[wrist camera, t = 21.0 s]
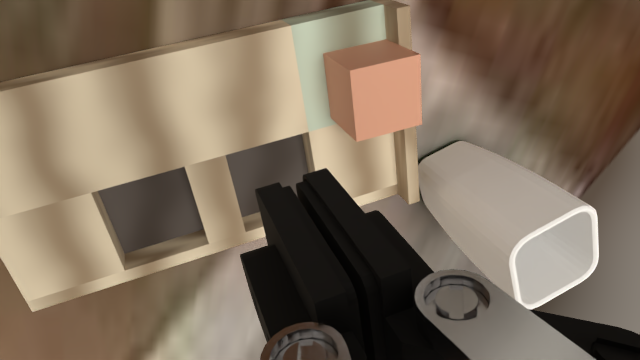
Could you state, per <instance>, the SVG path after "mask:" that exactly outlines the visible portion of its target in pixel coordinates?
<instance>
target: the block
mask: <svg viewBox="0 0 640 360" xmlns="http://www.w3.org/2000/svg"><path fill="white" fill-rule="evenodd" d="M323 57H324V66H325V74H326V82H327V91H328V99H329V107H330V116H331V119H332V120H334V121H335V122H336V123H337V124H338V125H339V126H340V127H341V128H342V129H343V130H344V131H345V132H346V133H347V134H349V135H350V136H351V137H352V138H353V139H354V140H355V141H356V142H359V141H362V140H366V139H370V138H374V137H377V136H381V135H385V134H388V133H392V132H396V131H399V130H403V129H407V128H411V127H414V126H418V125H422V104H421V62H420V54H419V53H416V52H414V51H412V50H410V49H407V48H405V47H403V46H400V45H398V44H396V43H394V42H391V41H389V40H387V39H385V40H381V41H376V42H372V43H367V44H363V45H358V46H354V47H349V48H345V49H340V50H335V51H331V52H326V53H323Z"/></svg>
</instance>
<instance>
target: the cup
mask: <svg viewBox="0 0 640 360" xmlns="http://www.w3.org/2000/svg"><path fill="white" fill-rule="evenodd" d="M418 177H419V187H420V191H421V195H422V198H423V202H424V204H425V205H426V207H427V208H428V209H429V211H430V212H431V213H432V215H433V216H434V218H435V219H436V220H437V222H438V223H439V224H440V225H441V227H442V228H443V229H444V230H445V232H446V233H447V234H448V235H449V237H450V238H451V239H452V240H453V241H454V242H455V243H456V245H457V246H458V247H459V248H460V249H461V250H462V251H463V252H464V253H465V254H466V256H467V257H468V258H469V259H470V260H471V261H472V262H473V263H474V264H475V265H476V266H477V267H478V268H479V269H480V270H481V271H482V272H483V273H484V274H485V275H486V276H487V277H488V278H489V280H491V281H492V282H493V283H494V284H495V285H496V286H497V287H499V288H500V289H501V290H503V291H504V292H505V293H507V294H508V295H509V296H511V297H512V298H513V299H515V300H516V301H517V302H519V303H520V304H522V305H523V306H524V307H526V308H527V309H534V308H536V307H539V306H541V305H542V304H544V303H546V302H547V301H549V300H551V299H553V298H555V297H556V296H558V295H560V294H562V293H563V292H565V291H567V290H569V289H570V288H572V287H574V286H576V285H577V284H579V283H581V282H582V281H583V280H585V279H586V278H588V277H589V276H590V275H591V273H592V272H593V271H594V269H595V268H596V266H597V264H598V258H599V246H598V219H597V213H596V210H595V209H594V208H593V207H591V206H590V205H588V204H587V203H585V202H583V201H582V200H580V199H578V198H577V197H575V196H573V195H572V194H570V193H568V192H567V191H565V190H563V189H562V188H560V187H559V186H557V185H555V184H553V183H552V182H550V181H548V180H546V179H545V178H543V177H541V176H539V175H537V174H536V173H534V172H532V171H530V170H528V169H526V168H524V167H522V166H521V165H519V164H517V163H515V162H513V161H511V160H509V159H507V158H505V157H503V156H500V155H498V154H496V153H493V152H491V151H489V150H486V149H484V148H481V147H479V146H476V145H473V144H471V143H468V142H465V141H458V142H455V143H453V144H451V145H449V146H447V147H445V148H443V149H442V150H440V151H438V152H436V153H434V154H432V155H430V156H428V157H426V158H425V159H423V160H422V161H421V162H420V164H419V165H418Z"/></svg>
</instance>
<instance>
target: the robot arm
mask: <svg viewBox="0 0 640 360" xmlns="http://www.w3.org/2000/svg"><path fill="white" fill-rule="evenodd" d="M296 191H297V196H298V197H297V196H296V194H295V193H294V191H293V189H292V188H291V186H286V187H283V188H282V186H281V184H280V183H279V182H277V183H274V184H271V185H267V186H264V187H261V188H257V189H255V193H256V198H257V202H258V206H259V210H260V214H261V218H262V223H263V227H264V231H265V235H266V239H267V243H268V246H265V247H262V248H259V249H256V250H253V251H249V252H246V253H243V254H240V257H241V261H242V265H243V268H244V272H245V276H246V279H247V283H248V286H249V289H250V293H251V296H252V299H253V302H254V306H255V309H256V312H257V315H258V318H259V321H260V324H261V326H262V329H263V332H264V335H265V338H266V341H267V344H266V345H265V347H264V349H263V351H262V354H261V358H260V360H640V334H639V335H638V334H636V333H634V332H632V331H629V330H626V329H622V328H619V327H615V326H610V325H605V324H600V323H594V322H590V321H585V320H580V319H575V318H570V317H564V316H560V315H555V314H550V313H545V312H540V311H535V310H530V309H527V308H526V307H524V306H523V305H522V304H520V303H519V302H517V301H516V300H515V299H513V298H512V297H511V296H509V295H508V294H507V293H505V292H504V291H503V290H501V289H500V288H499V287H497V286H496V285H494V284H493V283H492V282H490V281H489V280H488V279H486V278H484V277H482V276H481V275H479V274H477V273H473V272H470V271H467V270H458V269H449V270H441V271H438V272H435V273H434V272H433V271H432V269H431V268H430V267H429V266H428V265H427V264H426V263H425V262H424V261H423V259H422V258H421V257H420V256H419V255H418V254H417V253H416V252H415V250H414V249H413V248H412V247H411V246H410V245H409V244H408V243H407V242H406V240H405V239H404V238H403V237H402V236H401V235H400V234H399V233H398V232H397V230H396V229H395V228H394V227H393V226H392V225H391V224H390V223H389V221H388V220H387V219H386V218H385V217H384V216H383V215H382V214H381V213H380V212H379V211H376V210H375V211H372V212H369V213H364V212H363V211H362V209H361V208H360V207H359V206H358V205H357V203H356V202H355V201H354V200H353V199H352V197H351V196H350V195H349V194H348V193H347V191H346V190H345V189H344V188H343V187H342V186H341V184H340V183H339V182H338V181H337V180H336V178H335V177H334V176H333V175H332V174H331V172H330V171H329V170H328V169H327V168H324V169H321V170H317V171H314V172H311V173H307V174H304V175H303V181H302V182H299V183H296Z"/></svg>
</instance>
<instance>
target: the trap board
mask: <svg viewBox="0 0 640 360" xmlns="http://www.w3.org/2000/svg"><path fill="white" fill-rule="evenodd" d="M385 39H387V40H389V41H391V42H394V43H396V44H398V45H400V46H403V47H405V48H407V49H410V50H412V39H411V19H410V6H409V5H406V4H403V3H399V2H396V1H392V0H367V1H362V2H358V3H353V4H349V5H344V6H340V7H335V8H331V9H326V10H322V11H317V12H313V13H308V14H304V15H299V16H295V17H290V18H286V19H282V20H277V21H273V22H268V23H264V24H259V25H255V26H250V27H246V28H241V29H237V30H232V31H228V32H223V33H219V34H214V35H210V36H205V37H201V38H196V39H192V40H187V41H183V42H178V43H174V44H170V45H165V46H161V47H156V48H152V49H147V50H143V51H138V52H134V53H129V54H125V55H120V56H116V57H111V58H107V59H102V60H98V61H93V62H89V63H84V64H80V65H75V66H71V67H66V68H62V69H57V70H53V71H49V72H44V73H40V74H35V75H31V76H26V77H22V78H17V79H13V80H8V81H4V82H0V258H1V259H2V261H3V263H4V264H5V266H6V268H7V269H8V271H9V273H10V275H11V276H12V278H13V280H14V281H15V283H16V285H17V287H18V288H19V290H20V292H21V293H22V295H23V297H24V299H25V300H26V302H27V304H28V305H29V307H30V309H31V310H32V312H34V311H37V310H40V309H43V308H46V307H49V306H53V305H56V304H59V303H62V302H65V301H68V300H71V299H74V298H77V297H80V296H83V295H87V294H90V293H93V292H96V291H99V290H102V289H105V288H108V287H111V286H114V285H117V284H121V283H124V282H127V281H130V280H133V279H136V278H139V277H142V276H145V275H148V274H152V273H155V272H158V271H161V270H164V269H167V268H170V267H173V266H176V265H179V264H182V263H186V262H189V261H192V260H195V259H198V258H201V257H204V256H207V255H210V254H213V253H217V252H220V251H223V250H226V249H229V248H232V247H235V246H238V245H241V244H244V243H247V242H251V241H254V240H257V239H260V238H263V237H266V235H265V231H264V227H263V223H262V218H261V214H260V210H259V206H258V202H257V198H256V193H255V189H257V188H261V187H264V186H267V185H271V184H274V183H277V182H279V183H280V184H281V186H282V188H283V187H286V186H291V188H292V189H293V191H294V193H295V194H296V196H297V191H296V183H299V182H302V181H303V175H304V174H307V173H311V172H314V171H317V170H321V169H324V168H327V169H328V170H329V171H330V172H331V174H332V175H333V176H334V177H335V178H336V180H337V181H338V182H339V183H340V184H341V186H342V187H343V188H344V189H345V190H346V191H347V193H348V194H349V195H350V196H351V197H352V199H353V200H354V201H355V202H356V203H357V205H358V206H362V205H365V204H368V203H371V202H374V201H377V200H381V199H384V198H387V197H390V196H393V195H396V194H399V195H400V196H401V197H402V198H403V199H404V200H405V201H406V202H407V203H408V204H409V205H410V204H413V203H416V202H419V201H420V197H419V177H418V157H417V138H416V126H414V127H411V128H407V129H403V130H399V131H396V132H392V133H388V134H385V135H381V136H377V137H374V138H370V139H366V140H362V141H359V142H356V141H355V140H354V139H353V138H352V137H351V136H350V135H349V134H347V133H346V132H345V131H344V130H343V129H342V128H341V127H340V126H339V125H338V124H337V123H336V122H335V121H334V120H332V119H331V116H330V107H329V99H328V91H327V82H326V74H325V66H324V57H323V53H326V52H331V51H335V50H340V49H345V48H349V47H354V46H358V45H363V44H367V43H372V42H376V41H381V40H385ZM297 197H298V196H297Z"/></svg>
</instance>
